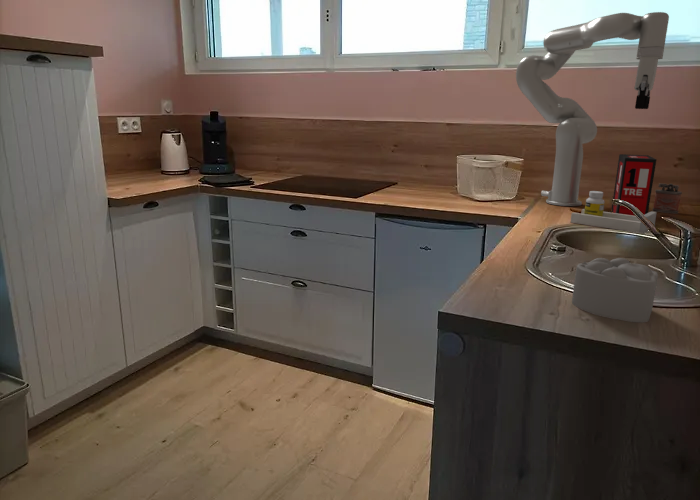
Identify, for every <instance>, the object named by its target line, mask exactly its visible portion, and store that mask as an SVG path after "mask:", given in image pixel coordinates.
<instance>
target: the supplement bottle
mask: <svg viewBox="0 0 700 500" xmlns="http://www.w3.org/2000/svg"><path fill="white" fill-rule="evenodd" d="M588 193H589V194H588V195H589V196H588V198H586V199H585V206H584V209H585V212H584V214H588V215H595V216H602V217H603V212H604V210H605V200H604V199H603V197H604V192H603V191H597V190H590V191H589V192H588Z"/></svg>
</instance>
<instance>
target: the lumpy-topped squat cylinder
mask: <svg viewBox="0 0 700 500" xmlns="http://www.w3.org/2000/svg"><path fill="white" fill-rule="evenodd" d="M658 278H659V274H658V272H657V271H655V270H652V269H651V268H650V267H649V266H647V265H644V264H641V263H631V261H629V260H628V259H626V258H624V257H617V258H613V259H611V260H609V259H608V258H604V257H597V258H594V259H593V260H591V261H587V262H586V261H583V262H580V263H578V264H577V265H576V269H575V275H574V282H573V283H574V285H573V289H572V290H573V291H572V298H571V299H572V300H571V304H572V305H573V306H575V307H576V308H578V309H580V310H582V311H585V312H587V313H589V314H592V315H595V316H600V317H604V318H609V319H613V320H619V321H625V322H631V323H647V322H649V321H650V318H651V317H650V316H651V314H652V311H653V305H654V301H655V294H656V289H657V283H658Z"/></svg>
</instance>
